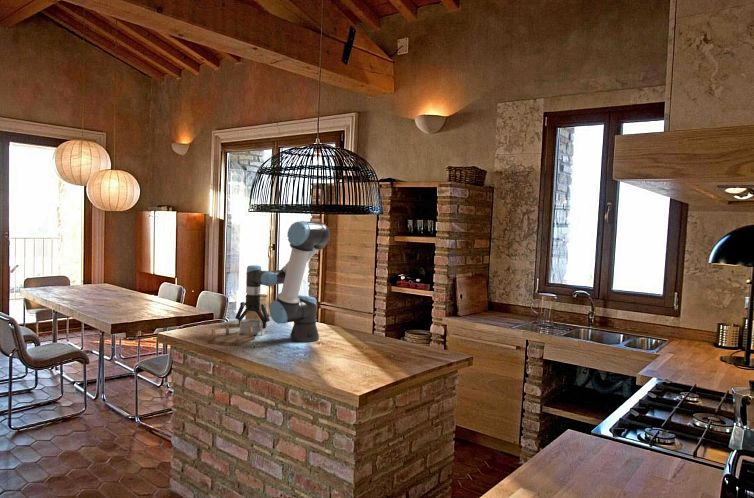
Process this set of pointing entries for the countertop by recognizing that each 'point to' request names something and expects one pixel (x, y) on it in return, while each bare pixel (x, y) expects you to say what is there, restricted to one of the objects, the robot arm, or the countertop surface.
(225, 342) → the rack
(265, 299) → the container
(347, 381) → the countertop surface
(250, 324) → the teacup
